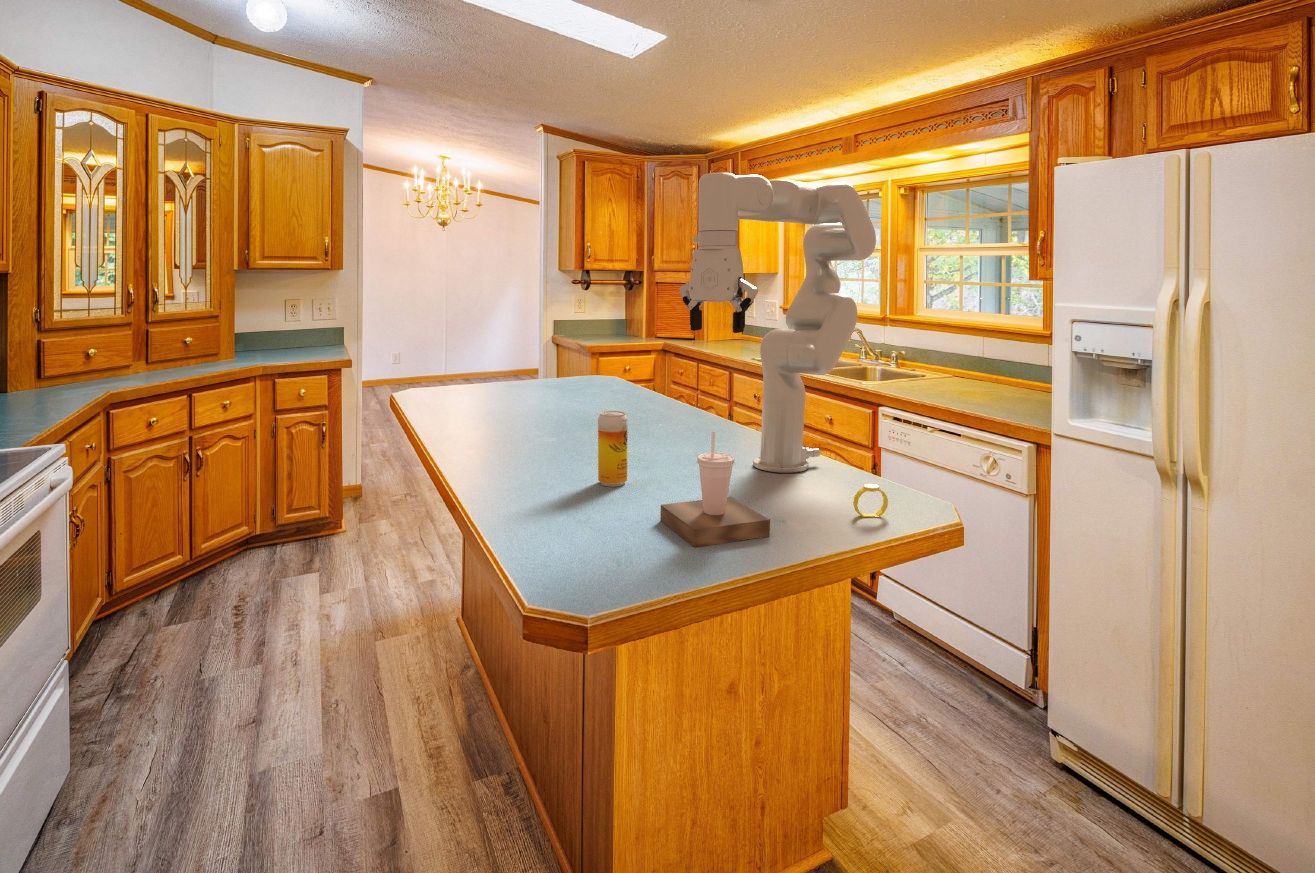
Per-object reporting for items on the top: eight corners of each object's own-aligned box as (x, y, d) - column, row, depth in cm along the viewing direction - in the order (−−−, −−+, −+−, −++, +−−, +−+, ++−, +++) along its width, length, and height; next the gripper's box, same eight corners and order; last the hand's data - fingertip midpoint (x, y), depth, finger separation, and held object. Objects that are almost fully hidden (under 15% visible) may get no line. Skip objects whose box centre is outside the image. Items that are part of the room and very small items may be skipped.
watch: (856, 520, 132) (856, 489, 131) (851, 515, 135) (851, 484, 134) (889, 518, 132) (889, 486, 131) (883, 513, 135) (883, 482, 134)
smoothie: (693, 506, 128) (695, 428, 125) (729, 505, 129) (732, 428, 126) (698, 518, 122) (700, 436, 119) (736, 517, 123) (739, 436, 119)
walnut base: (730, 512, 135) (730, 496, 134) (769, 536, 122) (770, 519, 122) (660, 520, 130) (660, 504, 129) (694, 547, 117) (694, 529, 116)
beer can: (623, 488, 150) (623, 416, 146) (594, 486, 151) (594, 415, 148) (630, 480, 155) (630, 411, 152) (602, 478, 157) (602, 410, 153)
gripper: (669, 242, 142) (670, 330, 146) (747, 240, 132) (745, 335, 136) (690, 243, 148) (690, 328, 152) (767, 241, 138) (764, 331, 142)
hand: (716, 331), depth 144 cm, fingers open, 9 cm apart
